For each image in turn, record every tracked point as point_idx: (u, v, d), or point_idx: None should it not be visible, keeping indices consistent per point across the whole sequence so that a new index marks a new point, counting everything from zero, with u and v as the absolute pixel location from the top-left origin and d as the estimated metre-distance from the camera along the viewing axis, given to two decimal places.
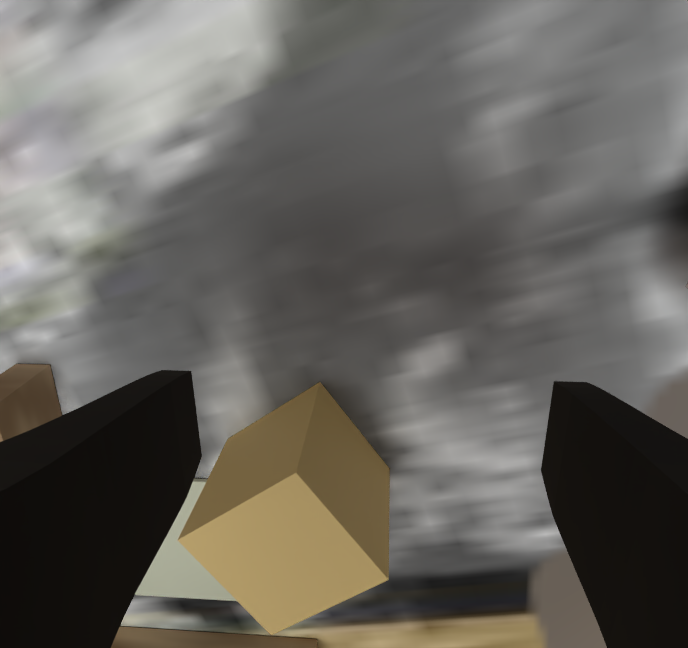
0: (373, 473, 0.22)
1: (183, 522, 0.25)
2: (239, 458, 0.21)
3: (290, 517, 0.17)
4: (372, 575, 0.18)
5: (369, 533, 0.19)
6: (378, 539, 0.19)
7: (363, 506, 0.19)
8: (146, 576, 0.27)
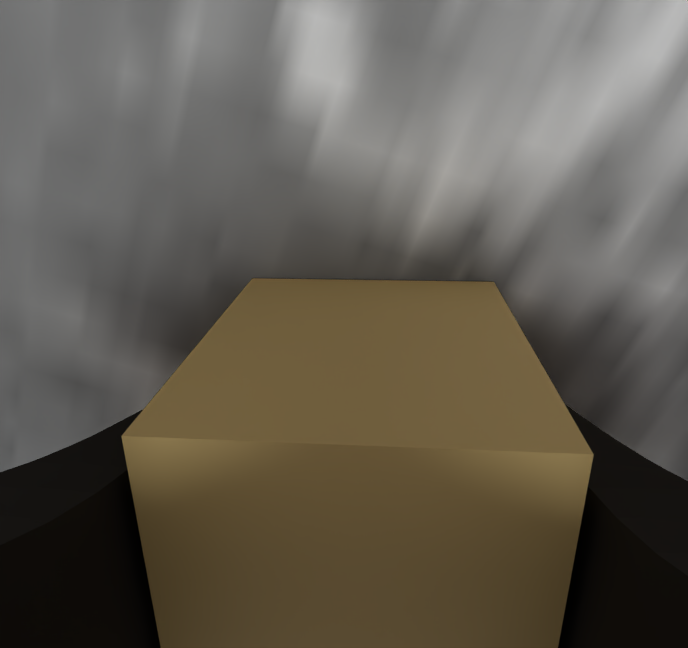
0: (445, 307, 0.10)
1: None
2: None
3: (241, 528, 0.06)
4: (547, 481, 0.06)
5: (466, 401, 0.07)
6: (506, 393, 0.07)
7: (427, 365, 0.08)
8: None
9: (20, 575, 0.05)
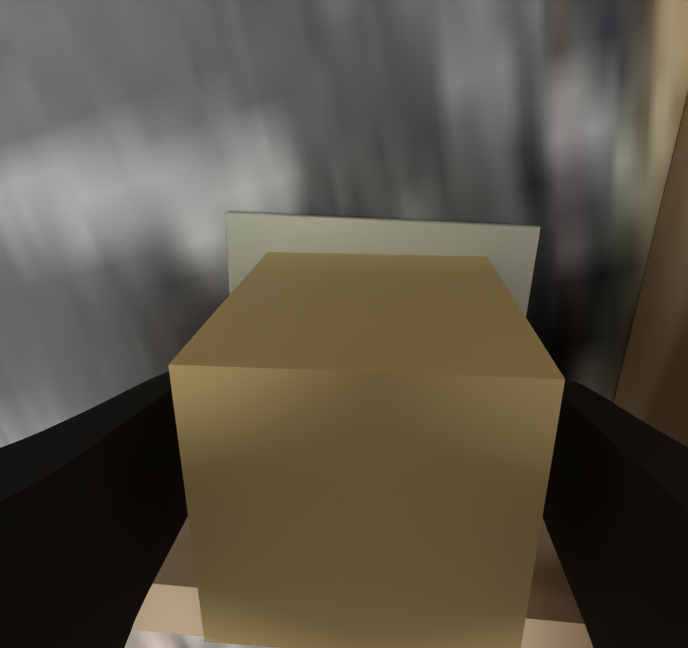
0: (443, 275, 0.11)
1: None
2: None
3: (268, 446, 0.07)
4: (527, 403, 0.07)
5: (460, 343, 0.08)
6: (495, 337, 0.08)
7: (426, 318, 0.09)
8: None
9: None
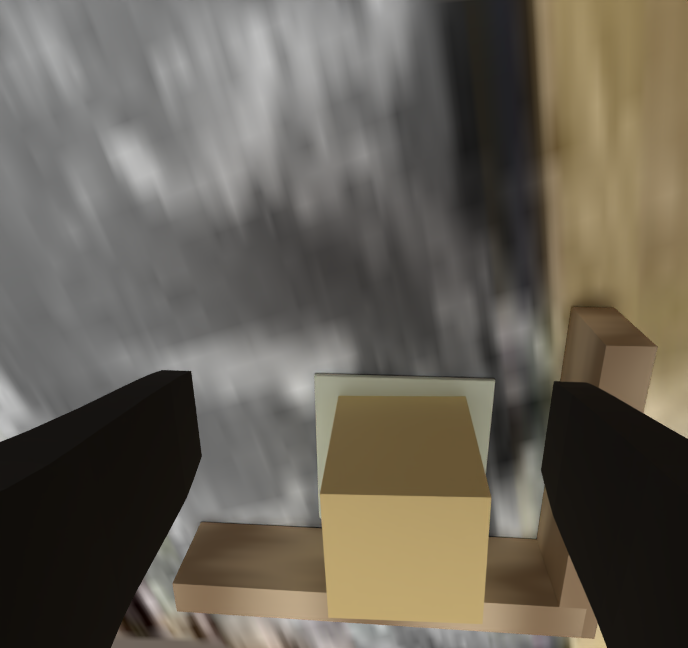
0: (440, 418, 0.20)
1: None
2: None
3: (362, 526, 0.17)
4: (476, 506, 0.16)
5: (447, 474, 0.17)
6: (464, 470, 0.17)
7: (431, 456, 0.18)
8: None
9: None
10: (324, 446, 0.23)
